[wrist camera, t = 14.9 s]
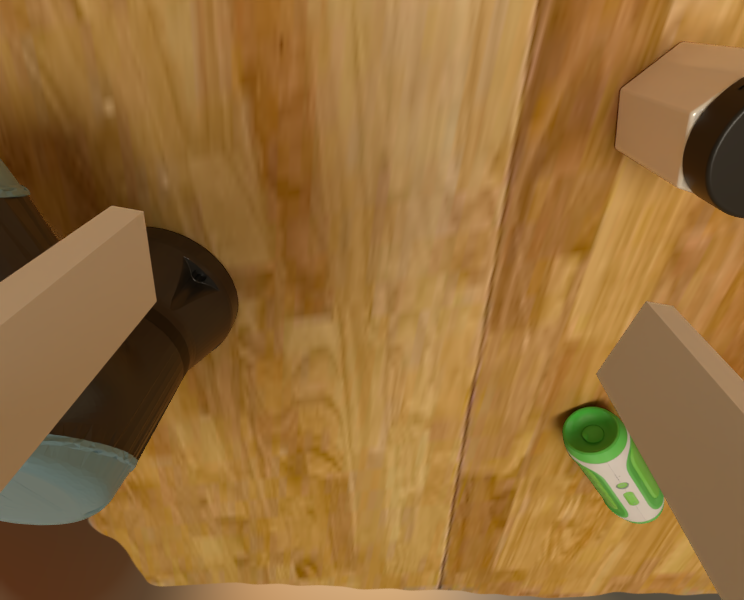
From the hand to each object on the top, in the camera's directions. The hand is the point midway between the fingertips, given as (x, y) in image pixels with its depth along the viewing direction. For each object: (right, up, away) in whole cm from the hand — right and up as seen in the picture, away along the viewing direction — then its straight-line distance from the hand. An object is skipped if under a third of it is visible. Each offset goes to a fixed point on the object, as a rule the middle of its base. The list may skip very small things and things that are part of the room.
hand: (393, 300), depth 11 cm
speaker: (+30, -19, +44) cm, 57 cm away
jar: (+23, +15, +21) cm, 34 cm away
